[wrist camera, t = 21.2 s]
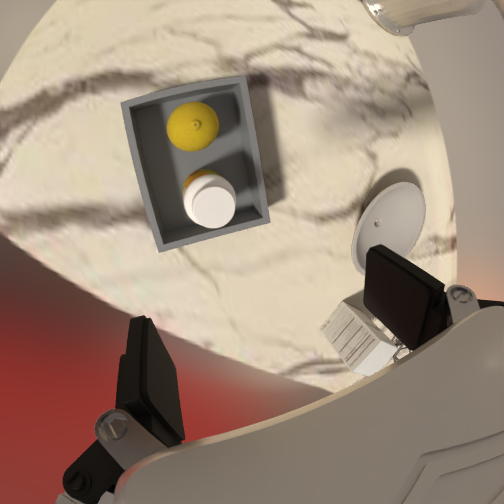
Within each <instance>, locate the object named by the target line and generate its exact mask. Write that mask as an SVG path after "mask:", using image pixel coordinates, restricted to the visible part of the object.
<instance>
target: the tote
mask: <svg viewBox="0 0 504 504" xmlns="http://www.w3.org/2000/svg"><path fill="white" fill-rule="evenodd" d="M187 102H201V103H204V104H206V105H208V106H209V107H211V108H212V109H213V110H214V111H215V113H216V115H217V117H218V121H219V131H218V134H217V136H216V138H215V139H214V141H213V142H212V143H211V144H210V145H209V146H208V147H206V148H204V149H203V150H199V151H194V152H188V151H183V150H181V149H179V148H177V147H176V146H175V145H173V144H172V142H171V141H170V139H169V137H168V134H167V122H168V119H169V117H170V115H171V113H172V112H173V111H174V110H175V109H176V108H177V107H179V106H180V105H182V104H184V103H187ZM121 108H122V113H123V118H124V124H125V129H126V133H127V138H128V143H129V147H130V152H131V156H132V160H133V164H134V168H135V172H136V176H137V180H138V184H139V188H140V191H141V195H142V199H143V202H144V206H145V209H146V213H147V216H148V219H149V223H150V226H151V229H152V233H153V236H154V239H155V242H156V245H157V248H158V251H159V253H160V252H164V251H167V250H171V249H174V248H178V247H181V246H185V245H188V244H192V243H196V242H199V241H203V240H207V239H210V238H214V237H218V236H221V235H225V234H229V233H233V232H236V231H240V230H244V229H248V228H252V227H256V226H259V225H263V224H267V223H270V217H269V210H268V204H267V197H266V191H265V185H264V178H263V172H262V166H261V160H260V154H259V148H258V142H257V136H256V131H255V125H254V119H253V114H252V108H251V102H250V97H249V91H248V86H247V81H246V76H238V77H231V78H223V79H217V80H211V81H205V82H199V83H194V84H189V85H184V86H179V87H175V88H171V89H166V90H162V91H158V92H155V93H151V94H147V95H144V96H140V97H137V98H133V99H130V100H127V101H124V102H121ZM199 169H210V170H213V171H215V172H217V173H218V174H219V175H221V176H222V177H223V178H224V179H226V180H227V181H228V182H229V183H230V184H231V185H232V187H233V189H234V191H235V194H236V206H235V212H234V215H233V217H232V219H231V220H230V221H229V222H228V223H227V224H226V225H224V226H222V227H219V228H207V227H204V226H202V225H199V224H197V223H195V222H194V221H193V220H192V219H191V218H190V217H189V216H188V214H187V212H186V210H185V207H184V201H183V194H182V190H183V184H184V182H185V180H186V178H187V177H188V176H189V175H190V174H191V173H192V172H194V171H196V170H199Z"/></svg>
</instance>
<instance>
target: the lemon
mask: <svg viewBox="0 0 504 504" xmlns="http://www.w3.org/2000/svg"><path fill="white" fill-rule="evenodd" d="M218 131H219V121H218V117H217V115H216V113H215V111H214V110H213V109H212V108H211V107H209V106H208V105H206V104H204V103H201V102H187V103H184V104H182V105H180V106H179V107H177V108H176V109H175V110H174V111H173V112H172V113H171V115H170V117H169V119H168V122H167V134H168V137H169V139H170V141H171V142H172V144H173V145H175V146H176V147H177V148H179V149H181V150H183V151H188V152H194V151H199V150H203V149H204V148H206V147H208V146H209V145H210V144H211V143H212V142H213V141H214V139H215V138H216V136H217V134H218Z"/></svg>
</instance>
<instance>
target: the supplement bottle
mask: <svg viewBox="0 0 504 504" xmlns="http://www.w3.org/2000/svg"><path fill="white" fill-rule="evenodd" d="M182 194H183V201H184V207H185V210H186V212H187V214H188V216H189V217H190V218H191V219H192V220H193V221H194V222H195V223H197V224H199V225H202V226H204V227H207V228H219V227H222V226H224V225H226V224H227V223H228V222H229V221H230V220H231V219H232V217H233V215H234V212H235V206H236V194H235V191H234V189H233V187H232V185H231V184H230V183H229V182H228V181H227V180H226V179H224V178H223V177H222V176H221V175H219V174H218V173H217V172H215V171H213V170H210V169H199V170H196V171H194V172H192V173H191V174H190V175H189V176H188V177H187V178H186V180H185V182H184V184H183V190H182Z"/></svg>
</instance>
